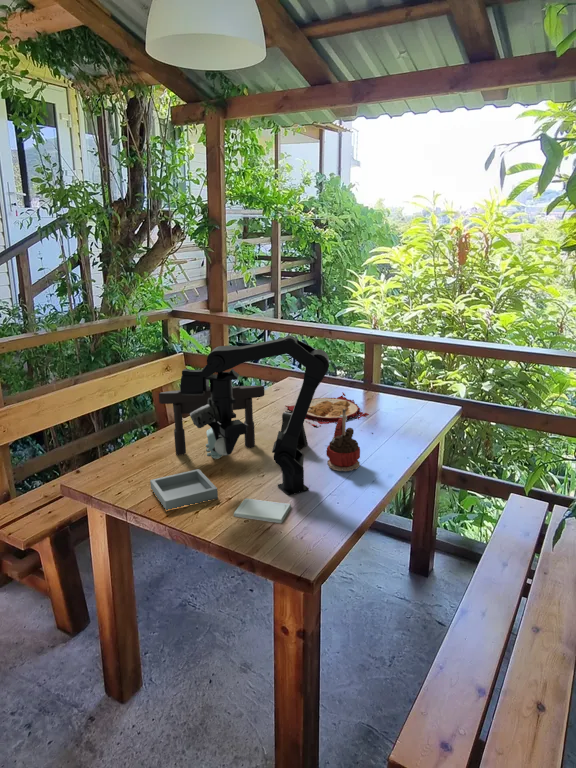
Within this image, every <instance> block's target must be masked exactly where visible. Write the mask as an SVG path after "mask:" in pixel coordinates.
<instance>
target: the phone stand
mask: <svg viewBox="0 0 576 768" xmlns="http://www.w3.org/2000/svg"><path fill="white" fill-rule="evenodd" d="M292 412H293V411H287V410H286V411H283V413H282V415H281V418H282V419H281V420H282V422H281V428H280V431H281V432H282V433H284V431H285V430H286V428H287V426H288V423H289V420H290V418H291V415H292ZM308 446H309V443H308V439H307V434H306V430H305V426H304V424H303V426H302V429H301V431H300V434H299V438H298V444H297V449H298V450H299V451H300V452H301V450H303V449H305V448H306V447H308Z"/></svg>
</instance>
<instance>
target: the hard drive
mask: <svg viewBox="0 0 576 768" xmlns="http://www.w3.org/2000/svg"><path fill="white" fill-rule="evenodd" d="M291 508H292V504H291V503H287V502H286V503H285V502H276V501H271V500H269V501H268V500H260V499H253V498H244V499H243V500H242V502H241V503H240V504H239V506H238V507H237V508H236V510H235V511H234V512H233V517H235V518H241V519H242V518H243V519H250V520H256V521H264V522H269V523H270V522H271V523H277V524H282V523H283V521H284V520H285V518H286V516H287V515H288V513H289V512H290V510H291Z"/></svg>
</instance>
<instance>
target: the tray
mask: <svg viewBox="0 0 576 768" xmlns="http://www.w3.org/2000/svg"><path fill="white" fill-rule="evenodd" d="M149 484H150V490H151V489H152V490H153V492H154V493H155V495H156V496H157V498H158V499H159V501H160V502H161V504H162V505H163V507H164V508H165V509H166V510H168V509H172V508H177V507H181V506H184V505H190V504H195V503H199V504H201V503H200V502H203V501H207V502H209V501H208V500H211V501H214V500H213V499H215V500H218V499H219V497H218V496H219V495H218V493H219V491H218V487H216V485H214V483H213V482H212V481H211V480H210V478H208V477H207V476H206V474H204V473H203V472H202V470H201V469H200V468H196V469H193V470H188V471H184V472H180V473H179V472H178V473H175V474H171V475H167V476H161V477H158V478H153V479H150V480H149ZM153 492H152V493H153ZM155 495H154V496H155ZM157 498H156V499H157ZM158 499H157V500H158ZM159 501H158V502H159ZM160 502H159V503H160ZM203 503H204V502H203ZM161 504H160V505H161ZM162 505H161V506H162ZM163 507H162V508H163ZM164 508H163V509H164Z"/></svg>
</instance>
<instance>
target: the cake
mask: <svg viewBox="0 0 576 768" xmlns="http://www.w3.org/2000/svg"><path fill="white" fill-rule="evenodd" d="M347 421H348V419H347V416H346V409H343V415H340V417H339V420H338V422H336V425H335V428H334V429H335V430H334V433H333V437H332V439H331V441H329V443H328V444H329V445H327V447H326V450H325V451H326V452H325V453H326V454H325V455H326V457H327V458H328V459H327V464H326V465H327V467H329V468H330V469H332V470H333V471H334V470H335V471H338V472H341V471H342V472H349V471H353V470H358V468H359V467H360V465H361V463H360V461H359V459H361V447H360V446H359V443H358V442H357V440H356V439H353V437H354V436H353V435H354V431H355V430H354V429H353V428H351V427H347V428H346V425H347V424H346V422H347Z"/></svg>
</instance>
